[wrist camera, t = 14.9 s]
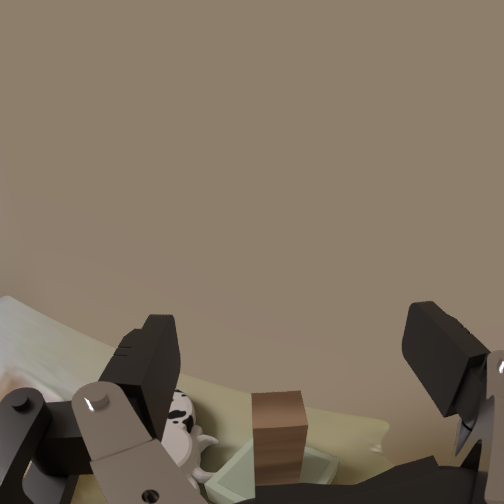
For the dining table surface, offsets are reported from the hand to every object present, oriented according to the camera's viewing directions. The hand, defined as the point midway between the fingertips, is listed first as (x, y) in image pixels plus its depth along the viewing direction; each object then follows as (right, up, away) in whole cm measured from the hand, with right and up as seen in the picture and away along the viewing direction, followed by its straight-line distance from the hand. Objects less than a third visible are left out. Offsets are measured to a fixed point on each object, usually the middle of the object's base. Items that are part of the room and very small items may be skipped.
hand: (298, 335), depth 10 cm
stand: (+1, -25, +19) cm, 32 cm away
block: (+1, -21, +18) cm, 28 cm away
